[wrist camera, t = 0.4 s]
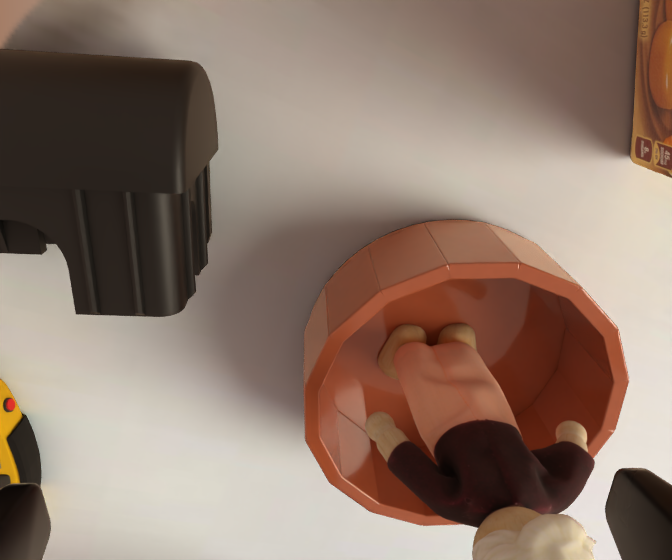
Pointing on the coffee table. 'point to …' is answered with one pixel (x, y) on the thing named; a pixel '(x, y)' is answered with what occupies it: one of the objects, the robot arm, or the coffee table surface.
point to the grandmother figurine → (480, 452)
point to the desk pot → (433, 316)
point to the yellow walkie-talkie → (16, 444)
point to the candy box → (653, 88)
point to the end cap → (109, 174)
